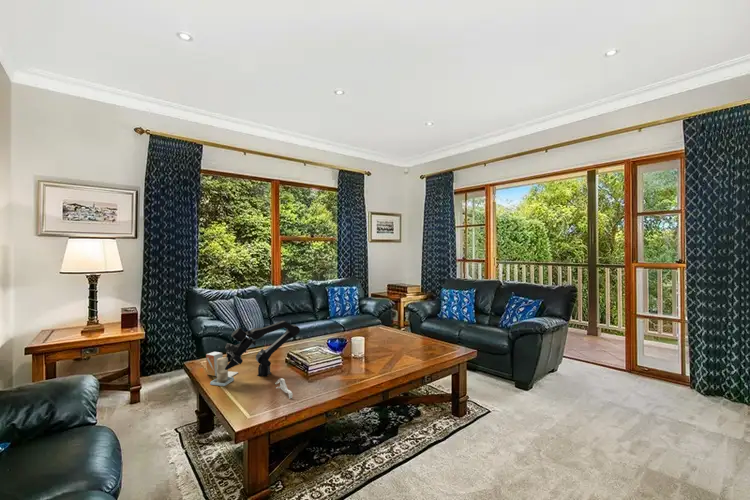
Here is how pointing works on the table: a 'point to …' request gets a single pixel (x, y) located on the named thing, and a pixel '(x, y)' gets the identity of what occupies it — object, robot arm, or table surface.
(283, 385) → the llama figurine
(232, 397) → the table surface
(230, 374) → the mat
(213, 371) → the small box
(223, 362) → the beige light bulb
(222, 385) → the light blue square frame
